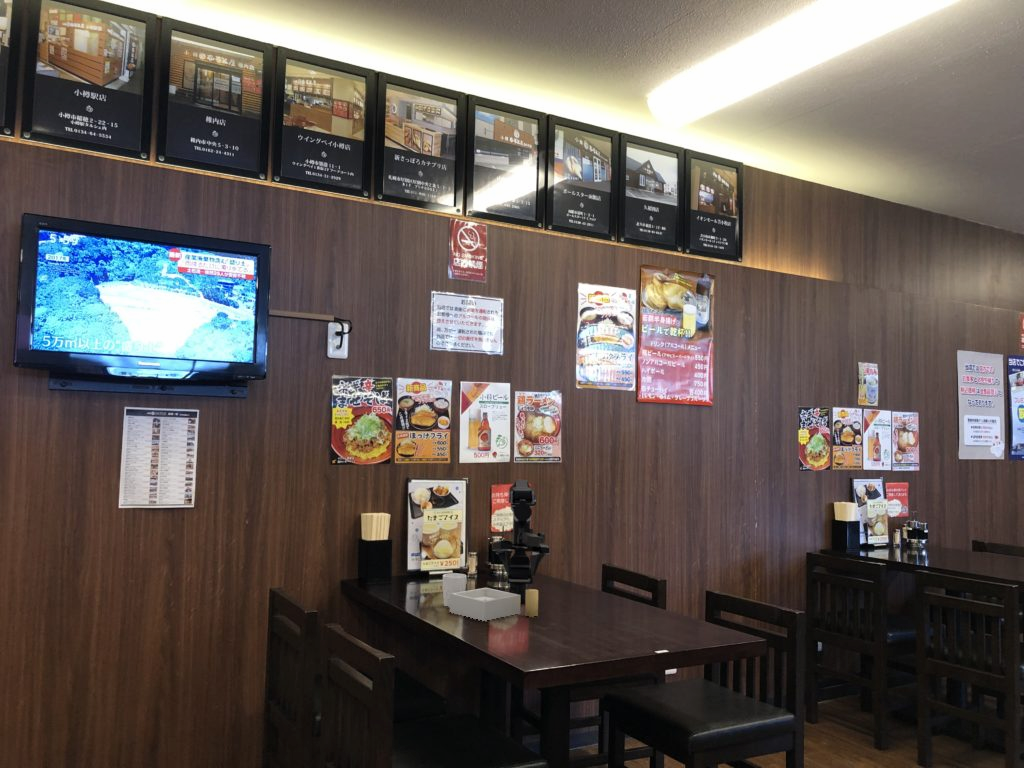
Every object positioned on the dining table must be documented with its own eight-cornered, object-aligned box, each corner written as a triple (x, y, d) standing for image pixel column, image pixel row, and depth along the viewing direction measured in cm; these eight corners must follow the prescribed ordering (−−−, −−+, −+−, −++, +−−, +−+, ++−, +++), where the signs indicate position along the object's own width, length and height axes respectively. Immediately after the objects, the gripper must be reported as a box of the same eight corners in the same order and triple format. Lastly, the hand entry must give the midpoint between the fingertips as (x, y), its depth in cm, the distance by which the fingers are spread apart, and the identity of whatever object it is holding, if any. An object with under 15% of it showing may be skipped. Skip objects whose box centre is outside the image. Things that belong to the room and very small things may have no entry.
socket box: (485, 605, 269) (486, 587, 269) (520, 614, 258) (520, 595, 258) (449, 612, 257) (450, 593, 258) (484, 621, 246) (484, 601, 246)
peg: (531, 613, 258) (531, 588, 259) (540, 616, 256) (540, 590, 256) (522, 615, 255) (523, 590, 256) (531, 617, 253) (532, 592, 253)
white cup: (437, 606, 266) (438, 575, 267) (450, 602, 273) (450, 572, 274) (457, 609, 263) (458, 578, 263) (470, 605, 270) (470, 574, 270)
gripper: (510, 519, 249) (509, 571, 244) (559, 525, 258) (559, 575, 253) (492, 524, 258) (490, 574, 253) (540, 530, 267) (540, 578, 262)
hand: (521, 575), depth 255 cm, fingers open, 9 cm apart
